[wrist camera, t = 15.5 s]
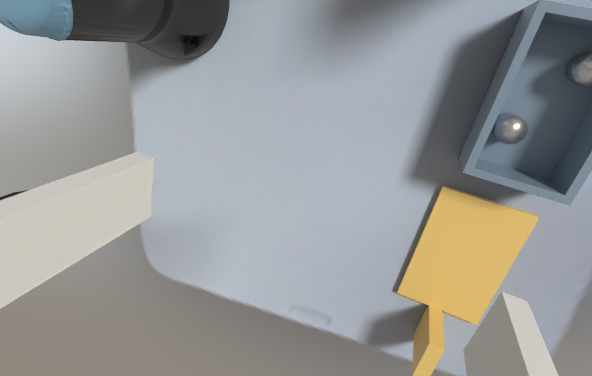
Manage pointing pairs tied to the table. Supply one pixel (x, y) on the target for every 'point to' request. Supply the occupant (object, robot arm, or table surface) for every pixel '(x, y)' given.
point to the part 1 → (510, 128)
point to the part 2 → (580, 69)
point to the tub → (538, 107)
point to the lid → (460, 265)
